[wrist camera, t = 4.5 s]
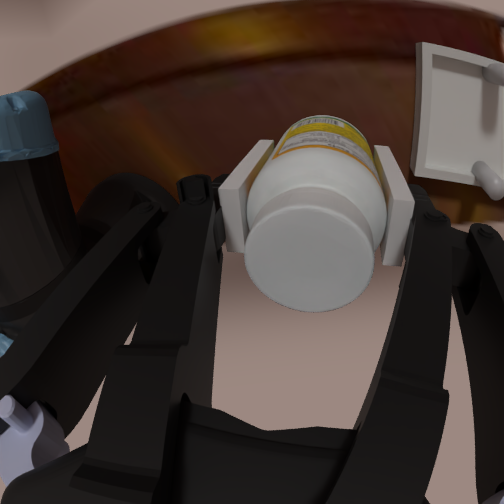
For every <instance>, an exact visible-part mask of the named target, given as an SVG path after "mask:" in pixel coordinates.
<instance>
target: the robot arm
mask: <svg viewBox="0 0 504 504" xmlns="http://www.w3.org/2000/svg"><path fill="white" fill-rule="evenodd" d="M58 150H59V144H58V141H57V139H56V138H55V137H54V133H53V129H52V124H51V120H50V116H49V111H48V107H47V104H46V102H45V100H44V98H43V97H42V96H41V95H39V94H38V93H36V92H33V91H20V92H15V93H11V94H6V95H2V96H0V476H1V478H2V480H3V482H4V483H5V485H6V487H7V488H6V489H5V491H4V493H3V496H2V499H1V504H430V503H429V502H428V500H427V499H426V497H425V493H426V490H427V487H428V484H429V481H430V478H431V475H432V471H433V468H434V465H435V461H436V458H437V454H438V450H439V446H440V442H441V438H442V434H443V429H444V425H445V420H446V415H447V410H448V405H449V393H448V390H445V389H443V380H444V372H445V366H446V359H447V351H448V342H449V331H450V319H451V300H452V296H453V300H454V304H455V308H456V312H457V316H458V320H459V325H460V329H461V334H462V339H463V344H464V349H465V355H466V361H467V367H468V373H469V380H470V388H471V396H472V405H473V416H474V431H475V469H476V489H477V498H478V504H504V241H503V239H502V237H501V236H500V234H499V233H498V232H497V231H496V230H494V229H493V228H492V227H491V226H488V225H487V224H481V223H474V224H472V225H471V226H470V229H469V233H466V232H463V231H460V230H457V229H455V228H452V227H451V222H450V219H449V217H448V216H447V215H446V214H444V213H442V212H441V211H438V210H436V209H435V207H434V206H433V204H432V202H431V200H430V198H429V197H428V194H427V192H426V191H425V190H424V189H423V188H422V187H421V186H419V185H415V184H407V183H406V181H405V179H404V177H403V175H402V173H401V171H400V169H399V167H398V165H397V163H396V161H395V159H394V157H393V155H392V153H391V151H390V149H389V147H387V146H377V145H374V159H373V160H374V164H375V167H376V170H377V173H378V176H379V180H380V183H381V186H382V190H383V194H384V198H385V202H386V210H387V221H386V228H385V232H384V235H383V238H382V241H381V243H380V250H381V257H382V265H391V266H401V265H402V261H403V257H404V256H405V260H406V262H405V266H404V270H403V274H402V277H401V281H400V285H399V291H398V296H397V299H396V303H395V307H394V311H393V315H392V318H391V322H390V326H389V329H388V332H387V336H386V339H385V342H384V346H383V349H382V352H381V355H380V359H379V361H378V364H377V367H376V370H375V373H374V376H373V379H372V382H371V384H370V388H369V390H368V393H367V396H366V398H365V401H364V403H363V406H362V408H361V411H360V413H359V416H358V418H357V421H356V423H355V425H354V427H353V429H339V428H327V427H308V428H298V429H286V430H273V431H267V430H262V429H259V428H257V427H255V426H253V425H250V424H248V423H246V422H244V421H242V420H240V419H238V418H236V417H233V416H231V415H229V414H227V413H225V412H223V411H221V410H218V409H214V408H212V404H211V402H212V384H213V370H214V356H215V342H216V330H217V317H218V306H219V294H220V283H221V272H222V261H223V253H222V247H221V246H222V245H223V243H224V241H226V247H227V251H228V252H240V253H244V249H245V243H246V239H247V237H248V234H249V232H250V230H249V226H248V221H247V201H248V196H249V192H250V189H251V187H252V184H253V183H254V181H255V179H256V177H257V175H258V174H259V172H260V171H261V169H262V168H263V166H264V165H265V163H266V162H267V160H268V159H269V157H270V156H271V154H272V152H273V151H274V140H260V141H259V142H258V143H257V144H256V145H255V146H254V147H253V149H252V150H251V151H250V152H249V153H248V154H247V155H246V157H245V158H244V159H243V160H242V161H241V162H240V164H239V165H238V166H237V167H236V168H235V169H234V171H233V172H232V173H231V174H222V175H221V176H219V177H217V178H215V179H214V181H213V182H211V177H210V176H208V175H203V174H199V175H191V176H187V177H184V178H182V179H180V180H179V181H178V182H177V183H176V184H177V190H178V195H179V199H180V204H178V203H177V202H176V201H175V199H174V198H173V197H172V196H171V195H170V194H169V193H168V192H167V191H166V190H165V189H164V188H162V187H161V186H160V185H158V184H157V183H155V182H154V181H152V180H150V179H148V178H146V177H144V176H141V175H137V174H133V173H119V174H115V175H112V176H110V177H108V178H106V179H105V180H104V181H102V182H101V183H99V184H98V185H96V186H95V187H94V188H93V189H92V190H91V191H90V193H89V194H88V196H87V198H86V200H85V201H84V202H83V204H82V206H81V207H80V209H79V210H78V212H77V214H76V215H75V212H74V209H73V206H72V202H71V199H70V195H69V192H68V188H67V184H66V181H65V177H64V173H63V169H62V165H61V161H60V157H59V152H58ZM136 323H137V325H136ZM135 325H136V328H135V331H134V334H133V338H132V341H131V343H130V344H129V345H124V343H125V341H126V340H127V338H128V336H129V335H130V333H131V331H132V330H133V328H134V326H135ZM105 376H106V378H105ZM104 378H105V381H104V384H103V388H102V391H101V395H100V398H99V402H98V406H97V409H96V413H95V417H94V421H93V425H92V429H91V433H90V437H89V441H88V443H87V444H85V445H83V446H81V447H79V448H77V449H75V450H73V451H71V452H70V449H69V445H68V443H67V442H65V441H64V439H65V438H66V437H67V436H68V435H69V434H70V433H71V431H72V430H73V429H74V428H75V426H76V425H77V424H78V422H79V421H80V420H81V418H82V416H83V415H84V413H85V411H86V410H87V408H88V407H89V405H90V403H91V401H92V399H93V397H94V396H95V394H96V392H97V390H98V388H99V386H100V385H101V383H102V381H103V379H104Z"/></svg>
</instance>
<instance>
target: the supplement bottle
mask: <svg viewBox="0 0 504 504" xmlns="http://www.w3.org/2000/svg"><path fill="white" fill-rule="evenodd" d="M247 221H248V226H249V230H250V232H249V234H248V237H247V239H246V243H245V249H244V258H245V265H246V268H247V272H248V274H249V276H250V278H251V279H252V281H253V282H254V284H255V285H256V286H257V287H258V289H259V290H260V291H261V292H263V293H264V294H265V295H266V296H267V297H269V298H270V299H272V300H273V301H275V302H276V303H278V304H280V305H283V306H285V307H288V308H290V309H294V310H298V311H303V312H326V311H331V310H335V309H338V308H341V307H343V306H345V305H347V304H349V303H351V302H352V301H354V300H355V299H356V298H357V297H359V296H360V295H361V294H362V293H363V291H364V290H365V289H366V287H367V286H368V284H369V282H370V280H371V278H372V275H373V270H374V252H375V251H376V249H377V248H378V247H379V245H380V243H381V241H382V238H383V235H384V232H385V228H386V221H387V210H386V202H385V198H384V194H383V190H382V186H381V183H380V180H379V176H378V173H377V170H376V167H375V164H374V160H373V157H372V153H371V151H370V148H369V145H368V143H367V141H366V139H365V138H364V136H363V135H362V134H361V133H360V132H359V131H358V130H357V129H356V128H355V127H354V126H353V125H351V124H350V123H348V122H346V121H344V120H342V119H340V118H337V117H333V116H326V115H318V116H311V117H307V118H305V119H302V120H300V121H298V122H297V123H295V124H294V125H292V126H291V127H290V128H289V129H288V130H287V131H286V132H285V134H284V135H283V137H282V138H281V140H280V141H279V143H278V144H277V146H276V148H275V149H274V151H273V152H272V154H271V156H270V157H269V159H268V160H267V162H266V163H265V165H264V166H263V168H262V169H261V171H260V172H259V174H258V175H257V177H256V179H255V181H254V183H253V184H252V187H251V189H250V192H249V196H248V201H247Z"/></svg>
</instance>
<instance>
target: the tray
mask: <svg viewBox="0 0 504 504" xmlns="http://www.w3.org/2000/svg"><path fill="white" fill-rule="evenodd" d="M410 168H411V170H412V172H413V174H414V176H419V177H426V178H433V179H440V180H446V181H452V182H458V183H464V184H470V185H475V186H480V187H482V188H483V189H484V190H485V192H486V193H487V194H488V195H489V197H490V198H491V199H493V200H500V199H501V198H503V197H504V63H501V62H498V61H495V60H492V59H489V58H485V57H482V56H479V55H475V54H472V53H468V52H465V51H461V50H457V49H453V48H448V47H444V46H439V45H435V44H430V43H425V42H420V43H416V97H415V116H414V130H413V142H412V152H411V161H410Z"/></svg>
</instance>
